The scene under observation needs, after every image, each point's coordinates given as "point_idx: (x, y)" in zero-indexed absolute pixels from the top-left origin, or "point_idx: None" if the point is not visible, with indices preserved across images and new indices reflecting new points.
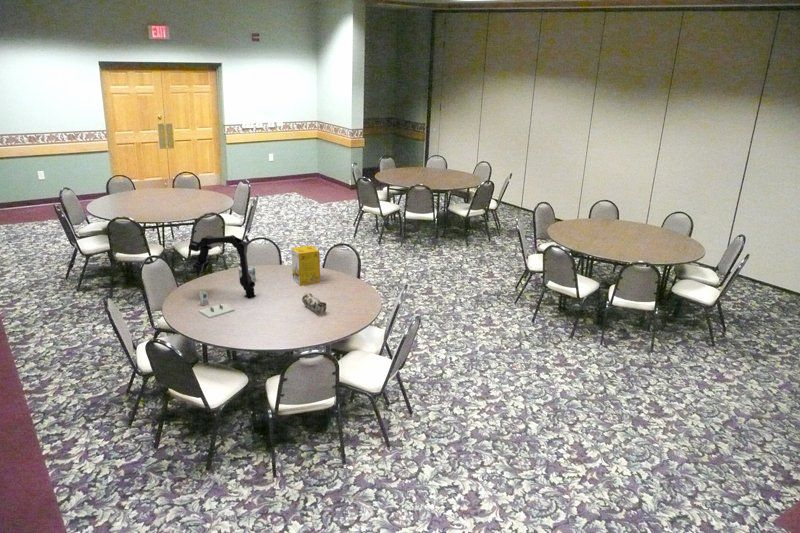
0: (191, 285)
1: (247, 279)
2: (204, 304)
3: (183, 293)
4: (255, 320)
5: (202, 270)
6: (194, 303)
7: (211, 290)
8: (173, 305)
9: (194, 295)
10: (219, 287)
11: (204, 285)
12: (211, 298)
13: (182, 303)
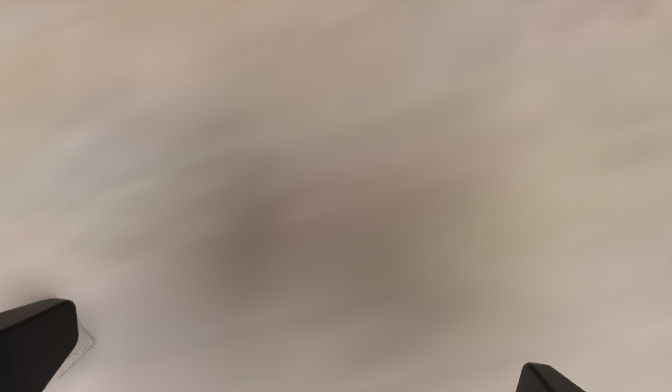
0: (640, 9)
1: None
2: None
3: (358, 4)
4: None
5: (542, 383)
6: (70, 226)
7: (461, 310)
8: (10, 20)
9: (297, 155)
10: None
11: (640, 177)
12: (212, 371)
13: (66, 97)
